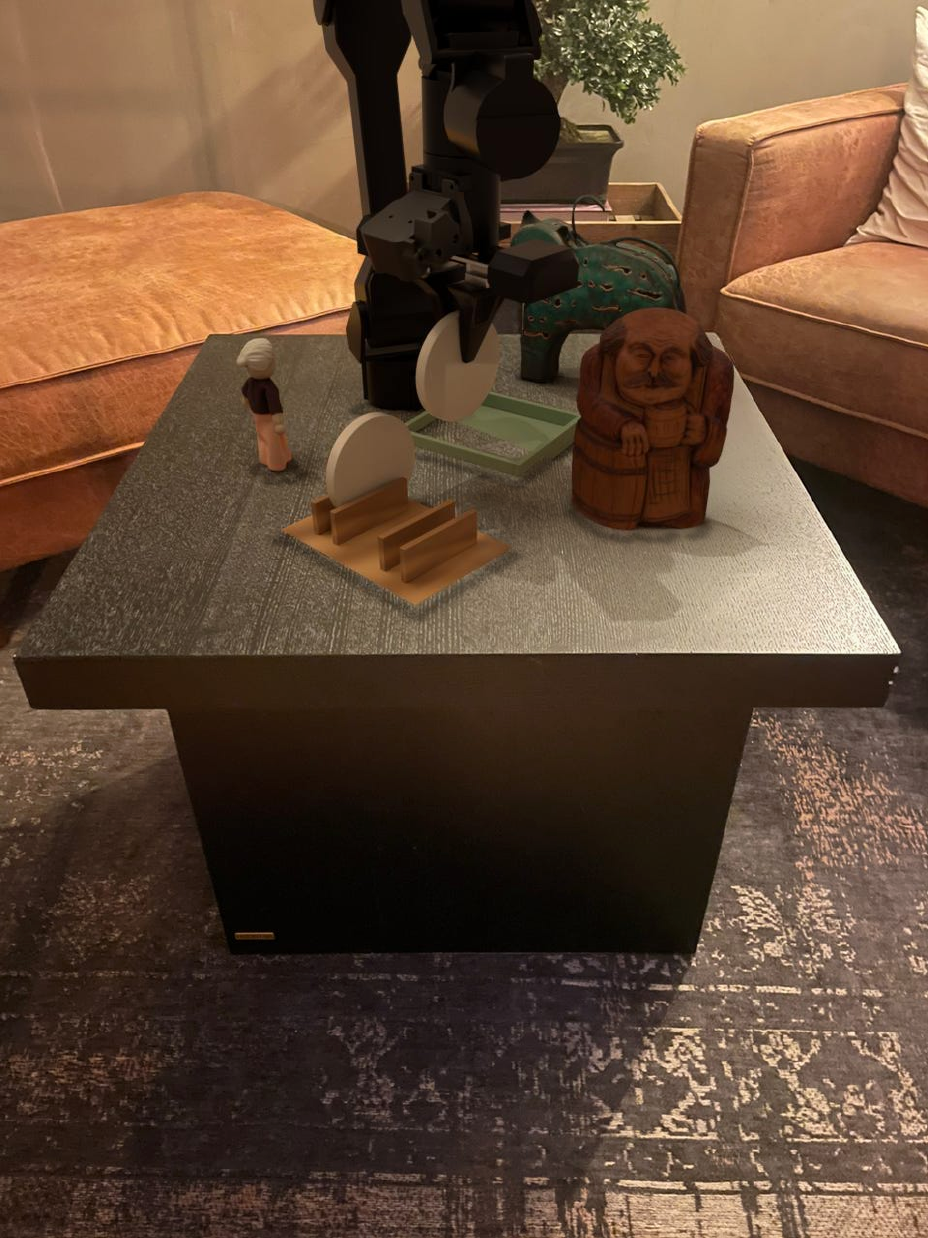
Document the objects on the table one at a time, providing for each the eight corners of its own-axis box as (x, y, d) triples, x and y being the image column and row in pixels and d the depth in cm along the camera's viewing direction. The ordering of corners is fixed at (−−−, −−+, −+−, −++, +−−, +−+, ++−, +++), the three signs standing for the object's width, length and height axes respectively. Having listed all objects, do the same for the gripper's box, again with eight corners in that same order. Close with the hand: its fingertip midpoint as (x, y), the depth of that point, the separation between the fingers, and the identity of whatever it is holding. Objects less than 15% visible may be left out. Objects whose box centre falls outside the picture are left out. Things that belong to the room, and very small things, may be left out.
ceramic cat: (502, 378, 105) (506, 190, 94) (529, 361, 110) (536, 178, 98) (665, 416, 97) (693, 213, 85) (687, 395, 101) (716, 200, 90)
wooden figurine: (572, 539, 77) (589, 325, 66) (567, 502, 82) (582, 298, 71) (714, 540, 77) (754, 326, 66) (699, 503, 82) (734, 298, 71)
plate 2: (420, 434, 76) (410, 330, 71) (492, 395, 81) (489, 294, 75) (428, 438, 76) (419, 333, 70) (501, 398, 81) (498, 297, 75)
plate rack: (282, 539, 77) (276, 497, 75) (378, 493, 83) (376, 453, 81) (415, 615, 68) (413, 570, 66) (512, 557, 75) (513, 514, 72)
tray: (395, 448, 91) (394, 429, 90) (467, 403, 100) (467, 385, 98) (519, 486, 84) (519, 465, 83) (584, 434, 93) (586, 414, 92)
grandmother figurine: (316, 476, 86) (301, 343, 79) (283, 490, 84) (265, 355, 76) (266, 451, 90) (247, 323, 83) (233, 464, 88) (211, 333, 81)
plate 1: (317, 520, 74) (335, 410, 71) (395, 513, 81) (415, 412, 78) (325, 524, 74) (344, 414, 70) (403, 516, 80) (424, 415, 77)
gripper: (292, 147, 67) (313, 356, 76) (481, 189, 56) (477, 424, 66) (404, 128, 73) (410, 322, 82) (591, 162, 63) (574, 380, 72)
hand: (462, 359), depth 76 cm, fingers closed on plate 2, 1 cm apart
